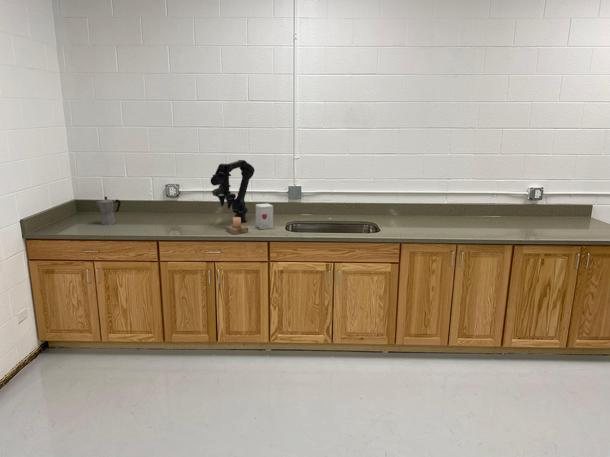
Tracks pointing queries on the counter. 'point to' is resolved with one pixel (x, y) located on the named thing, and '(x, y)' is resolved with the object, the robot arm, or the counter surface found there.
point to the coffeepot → (107, 210)
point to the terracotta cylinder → (236, 222)
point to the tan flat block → (237, 230)
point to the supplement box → (264, 216)
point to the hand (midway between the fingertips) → (225, 207)
